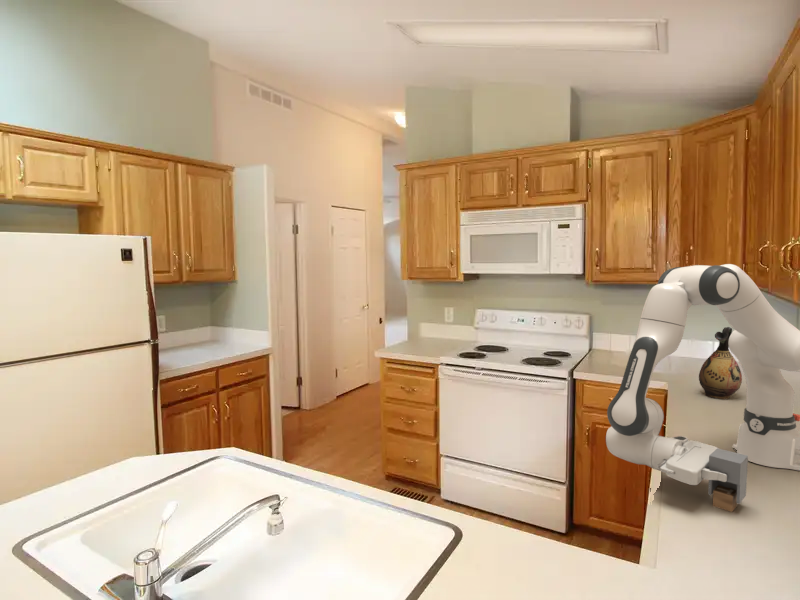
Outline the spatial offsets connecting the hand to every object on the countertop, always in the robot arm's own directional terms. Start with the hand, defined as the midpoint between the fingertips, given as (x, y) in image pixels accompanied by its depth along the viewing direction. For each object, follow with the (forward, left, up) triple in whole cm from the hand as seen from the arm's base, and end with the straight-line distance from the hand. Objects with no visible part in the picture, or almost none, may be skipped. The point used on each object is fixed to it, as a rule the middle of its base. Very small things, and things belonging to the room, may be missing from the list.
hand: (732, 472), depth 117 cm
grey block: (0, -1, -6) cm, 6 cm away
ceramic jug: (-91, -60, -9) cm, 110 cm away
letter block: (+1, -1, -9) cm, 9 cm away
